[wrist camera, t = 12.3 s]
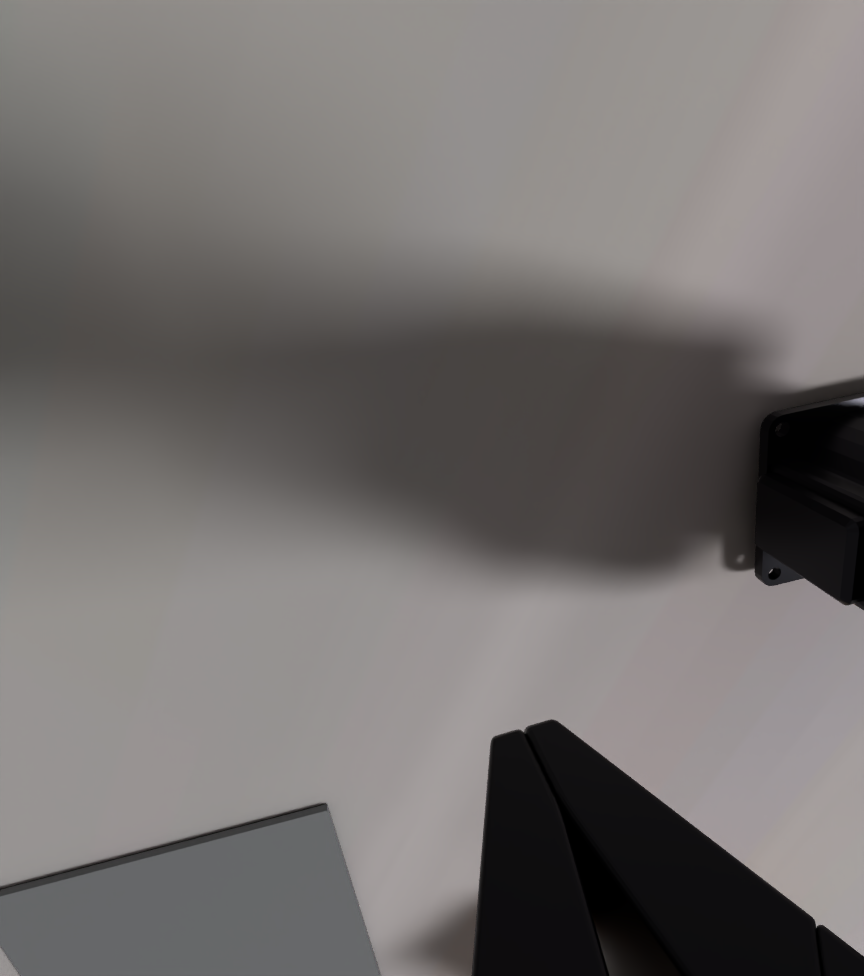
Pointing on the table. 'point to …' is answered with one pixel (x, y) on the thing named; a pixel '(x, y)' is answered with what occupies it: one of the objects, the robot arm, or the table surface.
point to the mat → (199, 909)
